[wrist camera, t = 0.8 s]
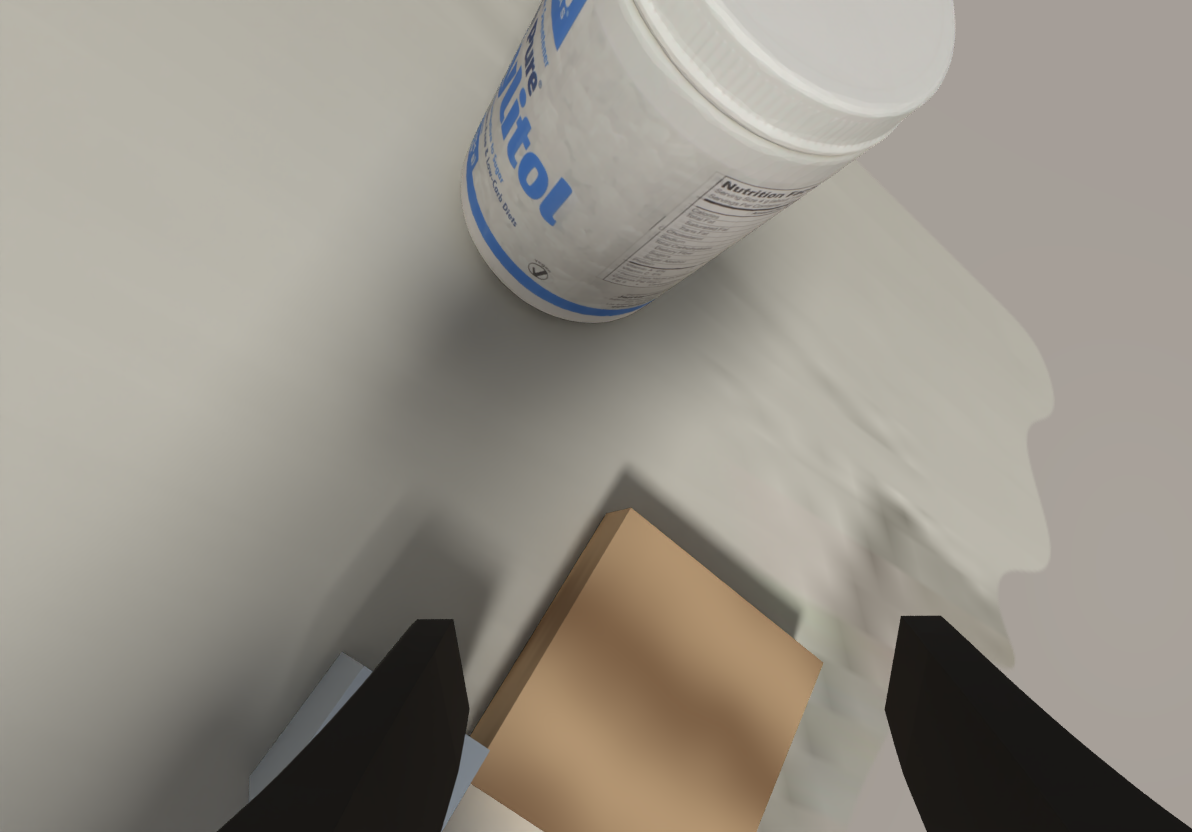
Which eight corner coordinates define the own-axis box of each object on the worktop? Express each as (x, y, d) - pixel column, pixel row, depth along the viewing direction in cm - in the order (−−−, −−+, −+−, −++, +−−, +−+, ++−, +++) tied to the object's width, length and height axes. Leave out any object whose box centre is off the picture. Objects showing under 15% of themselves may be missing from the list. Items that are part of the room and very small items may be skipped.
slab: (679, 917, 24) (712, 941, 23) (451, 766, 22) (467, 781, 20) (788, 658, 29) (823, 662, 27) (606, 513, 27) (631, 507, 25)
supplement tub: (415, 133, 27) (564, -293, 14) (613, 104, 31) (861, -238, 19) (516, 364, 26) (765, 143, 14) (701, 299, 31) (1017, 89, 18)
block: (364, 846, 21) (393, 912, 16) (249, 776, 20) (248, 827, 16) (444, 720, 23) (489, 750, 18) (341, 651, 22) (364, 665, 17)
